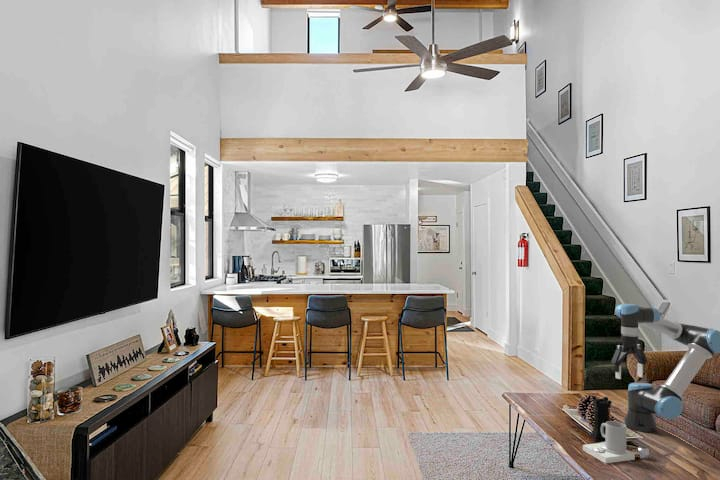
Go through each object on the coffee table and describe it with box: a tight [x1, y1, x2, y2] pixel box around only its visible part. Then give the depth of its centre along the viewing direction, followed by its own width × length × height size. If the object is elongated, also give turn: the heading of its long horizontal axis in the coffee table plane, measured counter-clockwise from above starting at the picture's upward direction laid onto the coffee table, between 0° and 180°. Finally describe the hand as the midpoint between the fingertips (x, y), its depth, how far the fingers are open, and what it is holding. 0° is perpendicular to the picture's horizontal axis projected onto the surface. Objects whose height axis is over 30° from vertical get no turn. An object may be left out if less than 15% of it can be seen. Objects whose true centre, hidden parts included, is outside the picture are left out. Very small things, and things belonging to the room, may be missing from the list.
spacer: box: [637, 446, 650, 460], centre depth 217 cm, size 4×4×4 cm
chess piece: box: [589, 395, 613, 443], centre depth 237 cm, size 8×8×20 cm
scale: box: [582, 442, 636, 464], centre depth 219 cm, size 16×14×4 cm
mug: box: [601, 420, 627, 452], centre depth 220 cm, size 12×8×11 cm
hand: (629, 377), depth 237 cm, fingers open, 13 cm apart
